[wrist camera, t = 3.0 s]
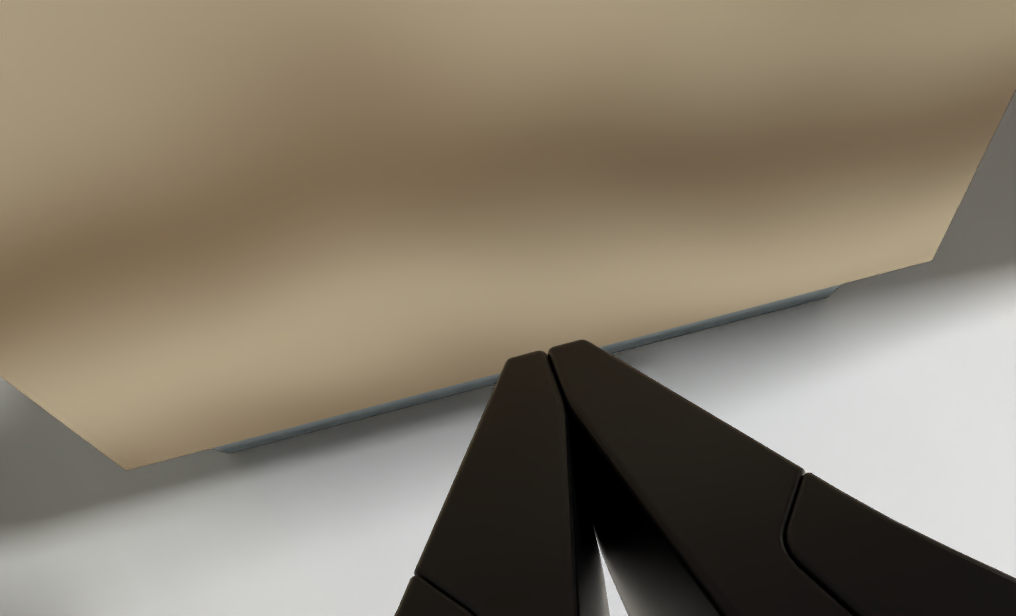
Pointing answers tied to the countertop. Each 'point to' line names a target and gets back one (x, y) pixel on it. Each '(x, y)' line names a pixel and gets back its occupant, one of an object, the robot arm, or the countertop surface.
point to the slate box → (493, 378)
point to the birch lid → (446, 187)
